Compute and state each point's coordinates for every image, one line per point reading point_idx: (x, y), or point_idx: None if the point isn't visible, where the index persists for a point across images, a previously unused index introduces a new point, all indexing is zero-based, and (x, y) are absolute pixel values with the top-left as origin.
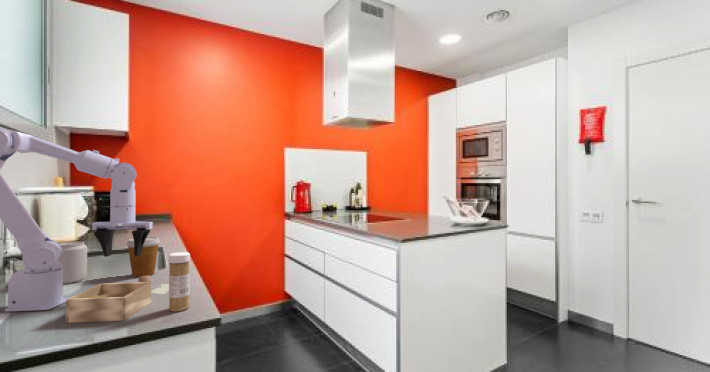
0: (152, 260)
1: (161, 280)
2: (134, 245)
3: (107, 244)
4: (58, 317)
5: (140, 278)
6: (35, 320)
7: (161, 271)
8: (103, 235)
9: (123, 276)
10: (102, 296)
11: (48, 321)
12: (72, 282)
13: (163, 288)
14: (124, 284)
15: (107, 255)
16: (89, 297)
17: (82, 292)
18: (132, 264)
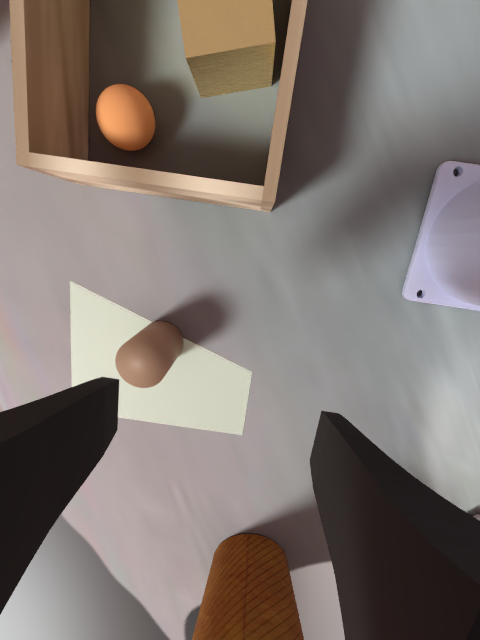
0: (202, 613)
1: (153, 469)
2: (55, 409)
3: (351, 502)
4: (366, 57)
5: (150, 341)
6: (442, 38)
7: (198, 587)
8: (440, 565)
9: (316, 558)
10: (200, 23)
11: (386, 9)
12: (476, 517)
13: (103, 359)
14: (149, 170)
15: (322, 422)
16: (260, 21)
17: (300, 12)
18: (282, 594)
